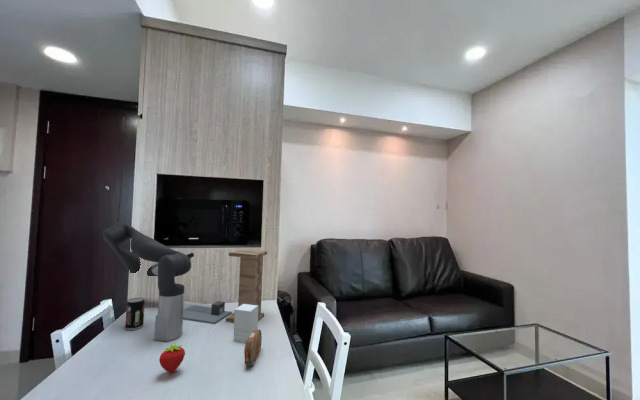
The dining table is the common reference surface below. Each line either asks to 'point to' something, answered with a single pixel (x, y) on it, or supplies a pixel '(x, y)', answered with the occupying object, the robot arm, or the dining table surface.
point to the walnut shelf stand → (249, 279)
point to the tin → (252, 347)
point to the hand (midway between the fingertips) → (187, 254)
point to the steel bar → (206, 307)
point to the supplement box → (245, 321)
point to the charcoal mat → (204, 316)
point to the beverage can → (135, 313)
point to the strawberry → (172, 358)
